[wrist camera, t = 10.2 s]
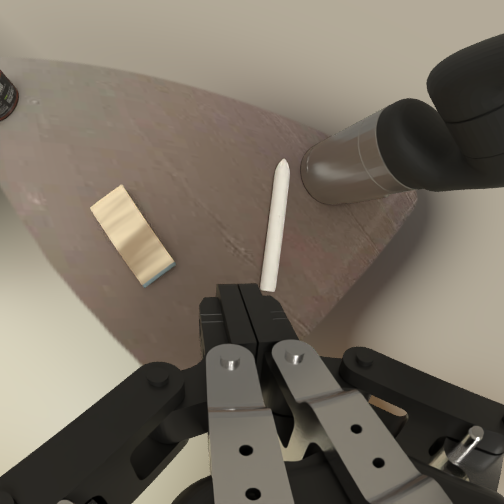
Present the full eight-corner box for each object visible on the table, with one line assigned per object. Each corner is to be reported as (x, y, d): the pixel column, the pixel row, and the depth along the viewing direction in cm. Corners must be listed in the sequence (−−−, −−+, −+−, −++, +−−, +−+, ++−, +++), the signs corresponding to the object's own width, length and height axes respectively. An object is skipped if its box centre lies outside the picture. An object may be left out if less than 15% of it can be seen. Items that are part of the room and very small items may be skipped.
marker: (274, 158, 42) (280, 154, 40) (288, 161, 43) (294, 157, 41) (257, 288, 42) (263, 290, 40) (272, 289, 43) (278, 292, 41)
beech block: (176, 264, 35) (121, 184, 32) (144, 288, 34) (89, 207, 32) (174, 261, 39) (126, 190, 37) (146, 282, 38) (97, 211, 36)
